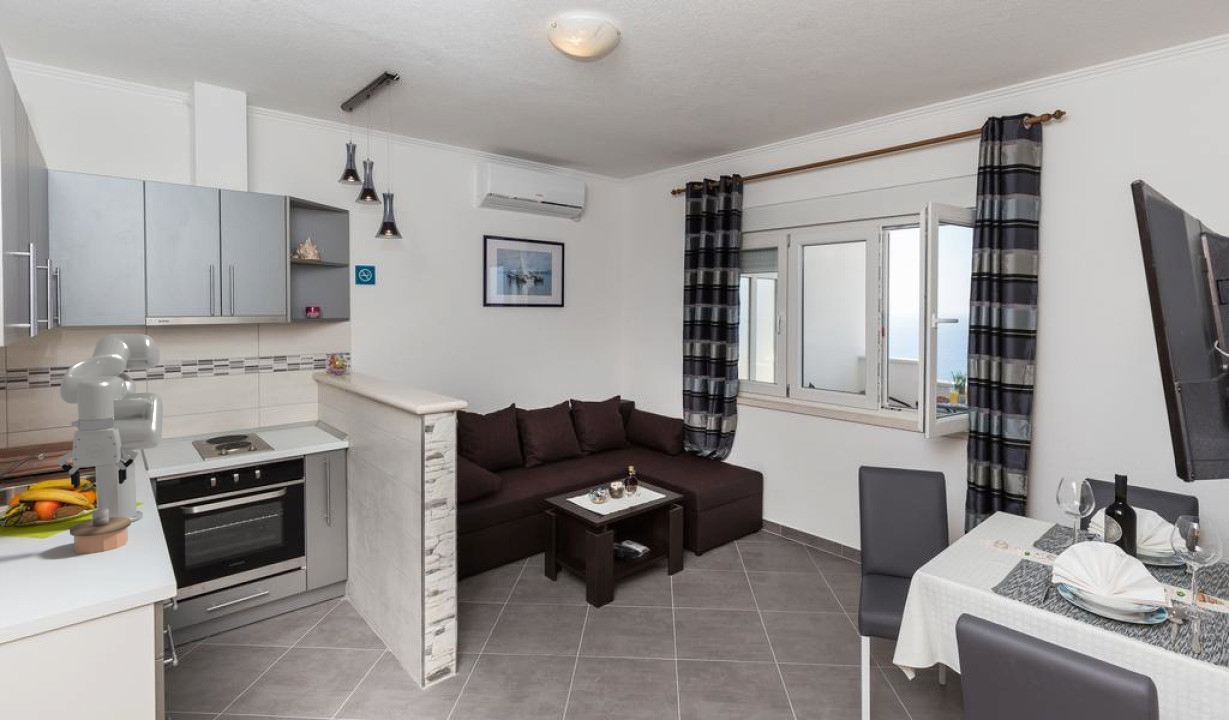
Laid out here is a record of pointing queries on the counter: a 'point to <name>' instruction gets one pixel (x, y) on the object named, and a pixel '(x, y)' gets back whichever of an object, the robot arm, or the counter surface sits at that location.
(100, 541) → the bowl
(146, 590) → the counter surface
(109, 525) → the lid
